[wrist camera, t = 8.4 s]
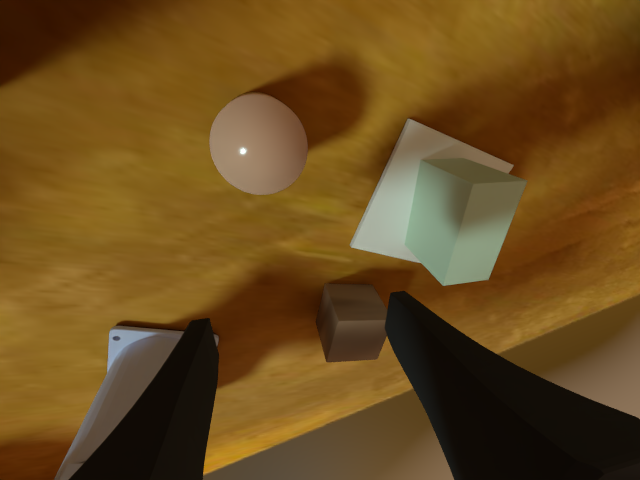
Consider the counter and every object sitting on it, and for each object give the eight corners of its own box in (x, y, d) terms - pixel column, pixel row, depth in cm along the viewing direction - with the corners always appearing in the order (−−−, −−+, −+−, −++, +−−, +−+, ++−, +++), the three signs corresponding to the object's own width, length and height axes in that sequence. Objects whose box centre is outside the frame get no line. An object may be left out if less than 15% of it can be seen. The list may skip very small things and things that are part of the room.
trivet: (443, 266, 26) (446, 268, 25) (349, 244, 22) (351, 247, 22) (509, 164, 22) (513, 165, 21) (407, 118, 18) (410, 119, 18)
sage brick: (442, 240, 24) (488, 279, 19) (404, 244, 23) (443, 285, 18) (463, 157, 20) (527, 180, 16) (420, 159, 20) (473, 183, 15)
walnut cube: (359, 320, 27) (377, 359, 23) (315, 321, 26) (326, 362, 22) (371, 283, 25) (393, 320, 21) (324, 283, 24) (338, 320, 20)
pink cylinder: (282, 176, 19) (291, 204, 14) (214, 156, 17) (201, 180, 13) (303, 108, 17) (320, 117, 13) (229, 78, 15) (220, 77, 11)
